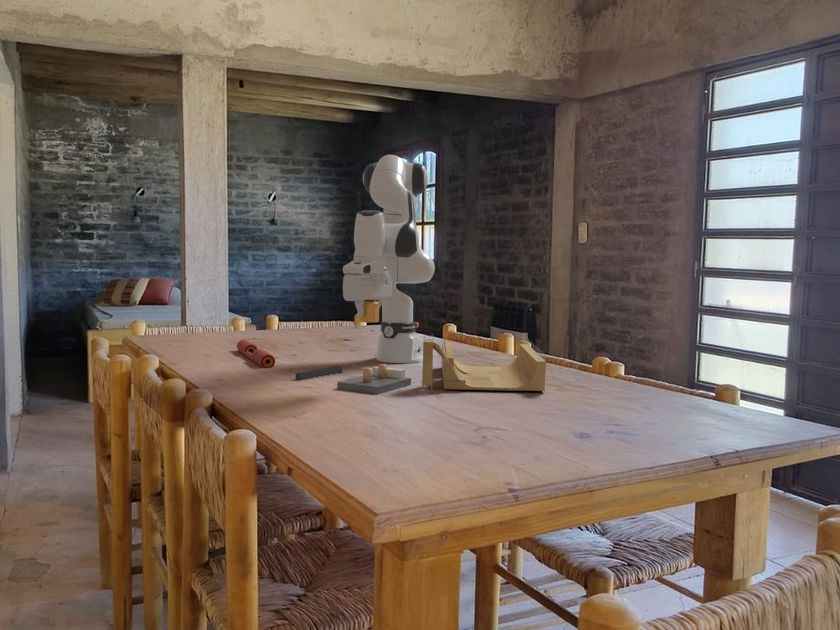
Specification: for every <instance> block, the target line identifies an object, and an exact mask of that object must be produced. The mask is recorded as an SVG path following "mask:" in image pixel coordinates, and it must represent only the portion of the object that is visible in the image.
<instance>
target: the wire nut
mask: <svg viewBox="0 0 840 630" xmlns="http://www.w3.org/2000/svg"><path fill="white" fill-rule="evenodd" d="M363 308H364V310H365V316H363V317H360V316H358V315H357V321H358V322H359V323H379V322H380V308H379V302H373V301H364V304H363Z"/></svg>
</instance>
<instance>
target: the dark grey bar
mask: <svg viewBox="0 0 840 630" xmlns="http://www.w3.org/2000/svg"><path fill="white" fill-rule="evenodd" d="M336 373H338V374H342V373H343V366H332V367H331V366H330V367H326V368H320V369H315V370H308V371H303V372H296V373H295V380H296V381H304V380H310V379H314V377H316V378H320V377H319V376H321V377H326V376H325V375H327V376H331V375H330V374H332V375H337V374H336ZM309 378H310V379H309Z"/></svg>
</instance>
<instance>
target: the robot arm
mask: <svg viewBox="0 0 840 630" xmlns="http://www.w3.org/2000/svg"><path fill="white" fill-rule="evenodd" d="M362 183H363V186H364V188H365V190H366V191H367V193H369V195H370V197H371V199H372V201H373V202H374V204H376V205H377V206H378V207H380V208H382V209H383V211H380V210H372V209H368V210H367V209H366V210H364V209H363V210H361V211H358V212H357V213H356V216H355V222H354V232H353V247H354V249H355V250H354V253H353V260H352V261H350V262H349V263H347V264H345V265H343V267H342V273H343V274H344V275H343V277H342V296H343V299H344V301H347V302H354V305H355V308H356V310H357V311H356V312H357V313H356V314H357V317H358V316H360V317H363V316H365V310H364V308H363V304H364V302H365V301H372V302H379V309H380V308H381V310H382V311H381V312H382V313H381V315H382V319H381V321H380V331H381V334H380V335H379V336H378V340H377V349H376V350H377V351H376V355H374V359H375V360H377V361H378V362H381V363H392V364H407V363H408V364H409V363H410V364H411V363H412V364H413V363H414V364H420V363H423V339H422V338H421V337H420V336H419V335H418V333H416V329H418V328H419V322H418V321H417V322H415V321H414V301H413V299H412V298H411V297H410V296H409V295H407V294H405V293H404V292H402V291H401V290H399V289H398V288H397V284H421V283H427V282H429V281H431V280H432V278H433V276H434V273H435V271H436V269H435V267H436V266H435V262H434V260H433V259H432V257H431V256H430V255H429V254H427V253H426V252H425V251H424V250H423V248H422V247H421V246H420V235H419V232H418V229H417V222H416V219H417V218H416V208H415V207H416V206H415V198H418V196H419V195H422V194H423V193H424V192H425V191H426V188H427V186H428V183H429V174H428V170H427V168H426V166H425V165H424V164H421V163H419V162H413V163H412V162H407V161H405V162H404V160H403V159H402V158H401V157H399V156H398V155H395V154H386V155H384V156H381V158H380V159H379V160H378V161H377V162H373V163H369V164H367V166H366V167H365V168H364V172H363V174H362Z"/></svg>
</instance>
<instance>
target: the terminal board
mask: <svg viewBox="0 0 840 630" xmlns="http://www.w3.org/2000/svg"><path fill="white" fill-rule="evenodd" d="M408 385H409V386H411V385H412V378H411V377H406V370H405V369H403V368H402V369H401V368H394V367H388V365H387V364H386V363H380V364H378V365H377V366H374V367H363V368H362V375H361V376H356V377H352V378H346V379H343V380H340V381H337V385H336V387H337V388H336V389H338V390H343V391H344V390H345V391H351V392H352V391H353V392H358V393H367V394H373V395H374V394H375V395H379V394H384V393H387V392H390V391H395V390H397V389H398V390H399V389H401V387H402V388H406V387H408Z"/></svg>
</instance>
